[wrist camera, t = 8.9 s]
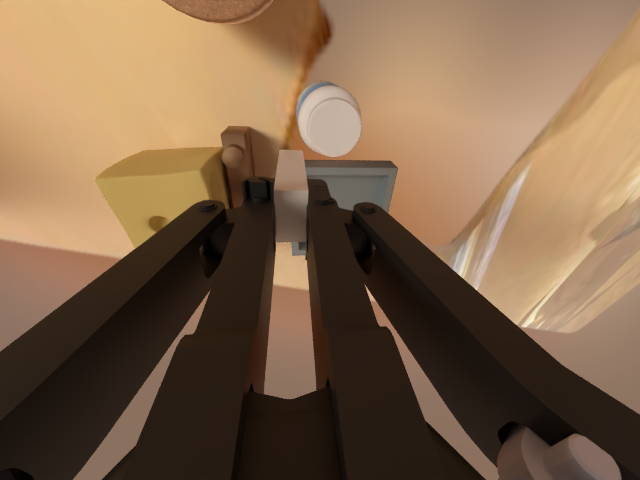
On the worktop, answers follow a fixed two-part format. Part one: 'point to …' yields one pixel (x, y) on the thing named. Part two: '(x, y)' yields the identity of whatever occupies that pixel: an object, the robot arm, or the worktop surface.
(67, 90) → the worktop surface
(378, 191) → the tray
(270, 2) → the lidded bowl
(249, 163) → the stop rail
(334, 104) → the pill bottle
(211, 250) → the robot arm
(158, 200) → the cheese
